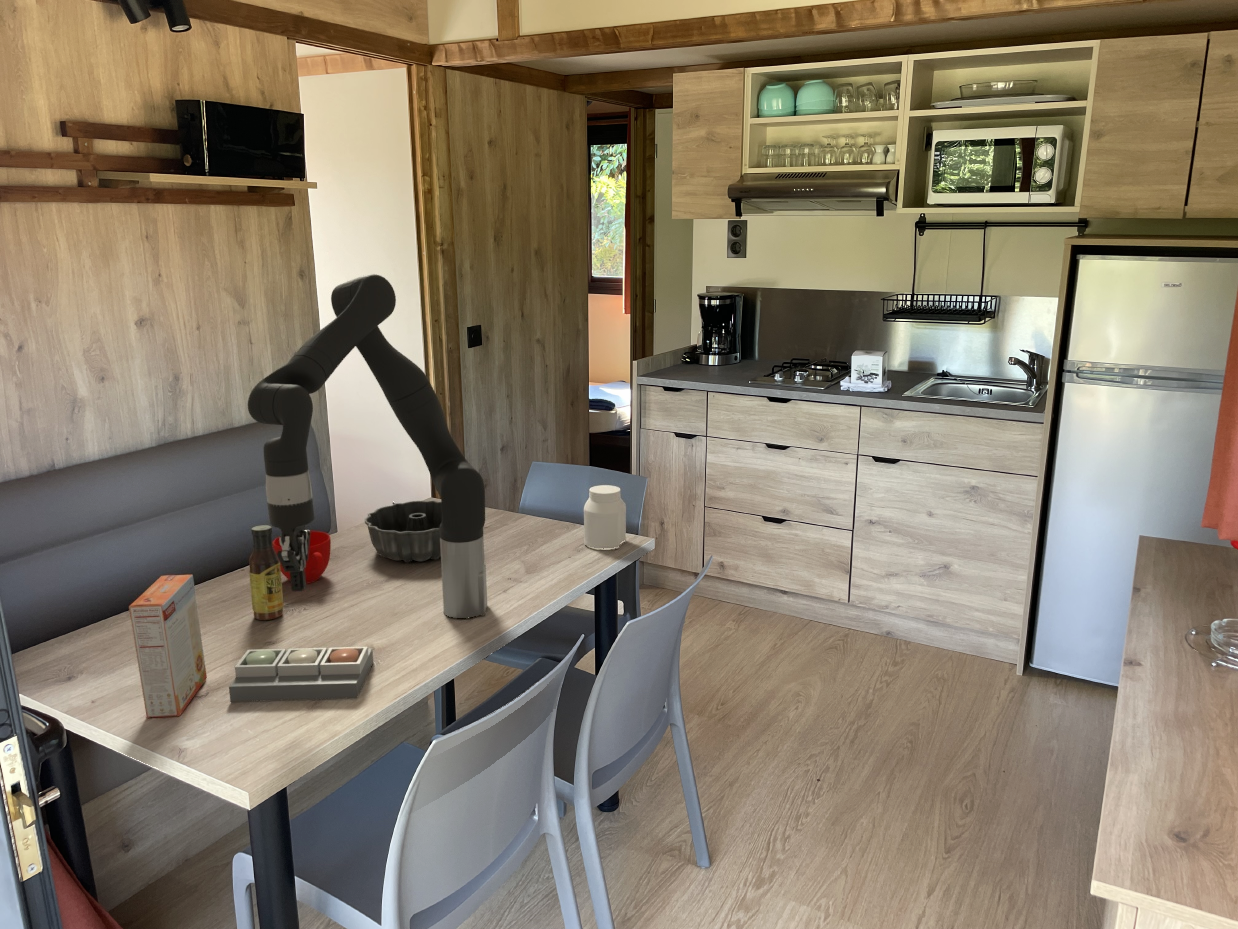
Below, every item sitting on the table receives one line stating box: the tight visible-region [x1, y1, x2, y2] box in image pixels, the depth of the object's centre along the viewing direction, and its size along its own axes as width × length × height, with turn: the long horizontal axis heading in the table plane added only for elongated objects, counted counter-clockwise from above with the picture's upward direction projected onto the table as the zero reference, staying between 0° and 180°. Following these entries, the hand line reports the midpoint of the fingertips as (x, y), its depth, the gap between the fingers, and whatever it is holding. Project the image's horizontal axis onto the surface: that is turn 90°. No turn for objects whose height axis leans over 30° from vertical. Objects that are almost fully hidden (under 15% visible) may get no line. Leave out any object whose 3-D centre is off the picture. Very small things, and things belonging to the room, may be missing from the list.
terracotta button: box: [330, 648, 359, 663], centre depth 168 cm, size 5×5×2 cm
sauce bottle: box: [248, 524, 284, 621], centre depth 195 cm, size 7×6×20 cm
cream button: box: [288, 649, 317, 664], centre depth 167 cm, size 5×5×2 cm
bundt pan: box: [364, 499, 442, 563], centre depth 236 cm, size 26×26×10 cm
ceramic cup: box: [272, 530, 332, 585], centre depth 216 cm, size 13×17×10 cm
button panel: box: [228, 646, 374, 703], centre depth 168 cm, size 22×14×5 cm, turn 93°
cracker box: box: [128, 574, 207, 719], centre depth 160 cm, size 14×6×21 cm, turn 5°
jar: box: [583, 484, 627, 549], centre depth 241 cm, size 12×10×15 cm
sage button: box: [246, 650, 276, 665], centre depth 167 cm, size 5×5×2 cm
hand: (299, 589), depth 164 cm, fingers closed
